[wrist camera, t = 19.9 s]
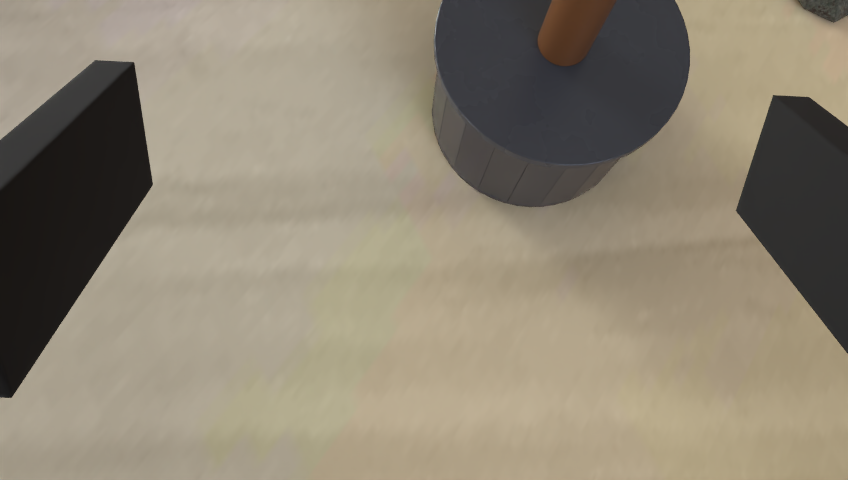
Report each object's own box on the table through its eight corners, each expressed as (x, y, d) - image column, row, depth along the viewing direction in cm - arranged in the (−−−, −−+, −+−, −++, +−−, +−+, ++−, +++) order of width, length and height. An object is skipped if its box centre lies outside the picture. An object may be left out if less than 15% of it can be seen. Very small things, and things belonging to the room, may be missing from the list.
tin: (400, 158, 47) (403, 99, 38) (478, -1, 50) (497, -90, 41) (583, 239, 46) (628, 197, 38) (650, 72, 49) (707, -2, 41)
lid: (391, 109, 39) (392, 3, 29) (491, -92, 42) (523, -249, 32) (631, 214, 38) (717, 142, 28) (714, 1, 41) (818, -130, 31)
